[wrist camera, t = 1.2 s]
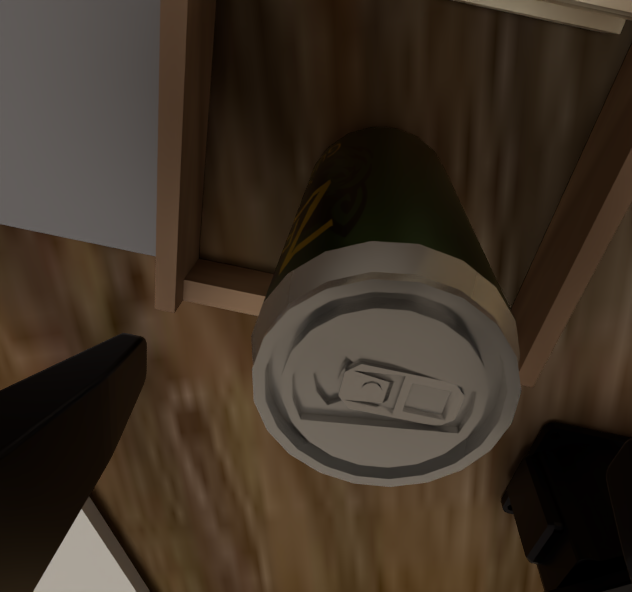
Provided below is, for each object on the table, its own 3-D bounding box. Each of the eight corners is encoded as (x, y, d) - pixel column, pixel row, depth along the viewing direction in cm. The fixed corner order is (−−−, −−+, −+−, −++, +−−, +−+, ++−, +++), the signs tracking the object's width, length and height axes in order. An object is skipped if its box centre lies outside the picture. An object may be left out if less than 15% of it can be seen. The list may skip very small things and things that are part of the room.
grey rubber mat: (179, -11, 17) (172, -12, 16) (169, 252, 22) (165, 258, 21) (-43, -58, 17) (-56, -60, 16) (0, 216, 22) (-10, 222, 21)
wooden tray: (807, -269, 13) (920, -343, 10) (514, 344, 22) (532, 387, 20) (211, -398, 12) (169, -507, 10) (180, 274, 22) (154, 308, 20)
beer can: (465, 139, 18) (589, 304, 8) (423, 266, 21) (474, 515, 11) (323, 109, 18) (257, 235, 8) (299, 240, 21) (227, 464, 10)
